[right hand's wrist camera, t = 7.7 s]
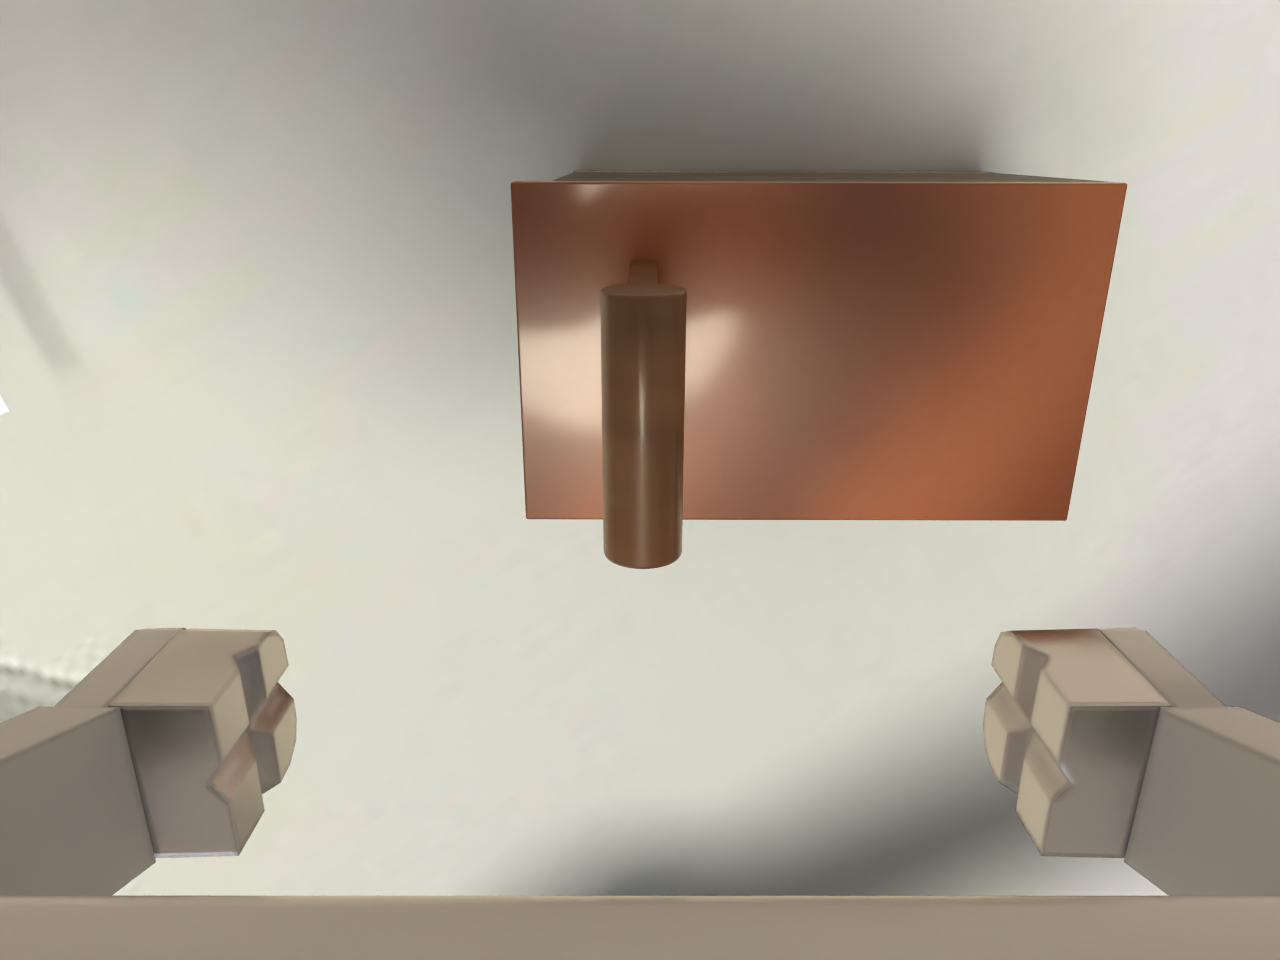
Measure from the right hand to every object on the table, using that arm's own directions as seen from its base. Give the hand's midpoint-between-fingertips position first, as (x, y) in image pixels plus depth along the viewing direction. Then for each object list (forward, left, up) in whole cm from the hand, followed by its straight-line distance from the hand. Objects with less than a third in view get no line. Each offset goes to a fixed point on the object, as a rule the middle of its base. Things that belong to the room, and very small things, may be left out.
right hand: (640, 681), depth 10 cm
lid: (+2, +4, -17) cm, 17 cm away
